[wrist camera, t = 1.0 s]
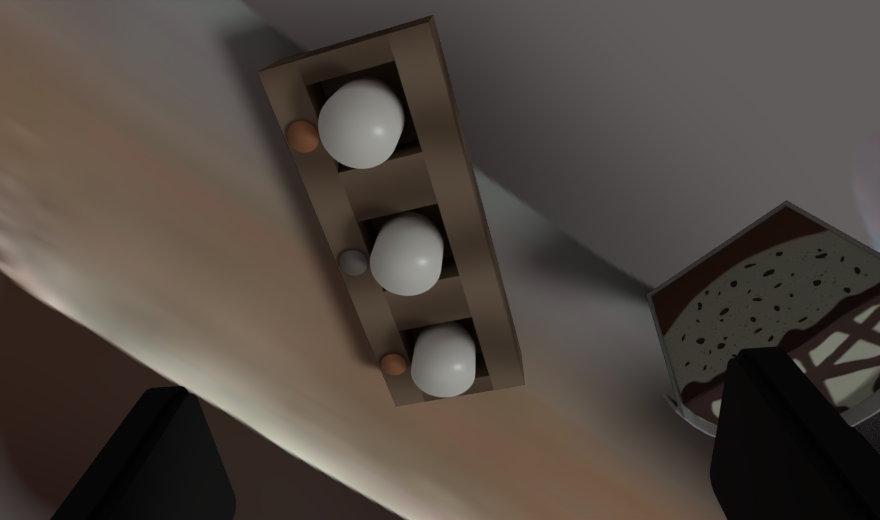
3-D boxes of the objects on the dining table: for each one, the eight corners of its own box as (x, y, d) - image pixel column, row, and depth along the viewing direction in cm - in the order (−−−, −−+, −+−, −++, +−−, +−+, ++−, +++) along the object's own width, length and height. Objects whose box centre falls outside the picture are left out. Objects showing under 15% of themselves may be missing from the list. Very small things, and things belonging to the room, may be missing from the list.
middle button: (368, 220, 32) (359, 242, 29) (433, 204, 31) (429, 226, 29) (389, 276, 33) (382, 301, 31) (451, 263, 33) (449, 288, 30)
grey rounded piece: (320, 88, 28) (305, 100, 26) (392, 67, 27) (383, 78, 25) (346, 158, 30) (335, 176, 28) (414, 141, 29) (408, 158, 27)
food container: (681, 364, 38) (741, 489, 29) (626, 308, 36) (673, 423, 27) (863, 254, 33) (1001, 364, 24) (811, 183, 31) (941, 274, 22)
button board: (277, 61, 30) (256, 73, 27) (433, 15, 28) (428, 22, 25) (401, 376, 40) (395, 408, 37) (521, 354, 38) (525, 387, 35)
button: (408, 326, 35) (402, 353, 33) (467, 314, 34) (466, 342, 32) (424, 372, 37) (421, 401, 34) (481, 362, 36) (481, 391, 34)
